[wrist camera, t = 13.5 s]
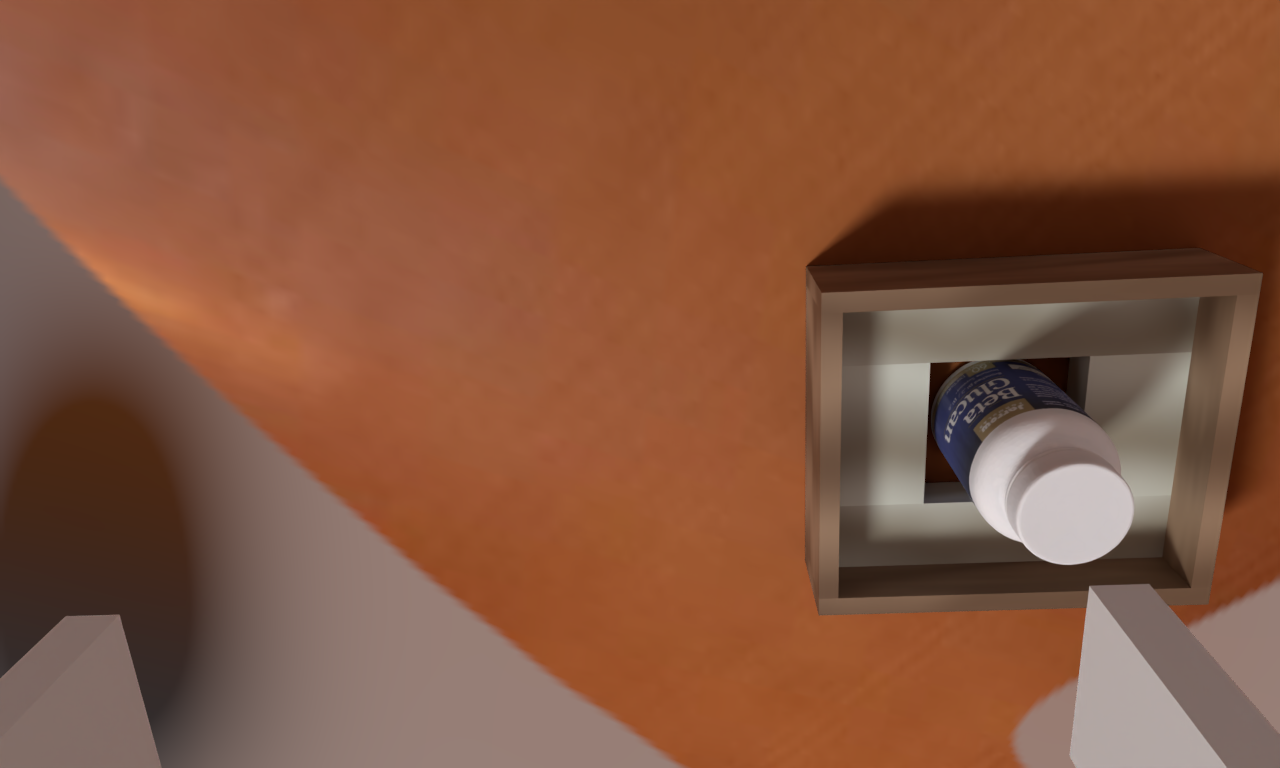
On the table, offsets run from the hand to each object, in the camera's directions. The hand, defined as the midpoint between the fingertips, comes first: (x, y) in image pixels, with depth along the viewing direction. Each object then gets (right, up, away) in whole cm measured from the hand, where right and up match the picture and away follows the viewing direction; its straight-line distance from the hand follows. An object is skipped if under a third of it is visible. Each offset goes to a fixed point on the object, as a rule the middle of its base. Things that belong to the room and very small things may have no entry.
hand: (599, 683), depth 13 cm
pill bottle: (+16, +3, +29) cm, 33 cm away
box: (+16, +3, +29) cm, 33 cm away
